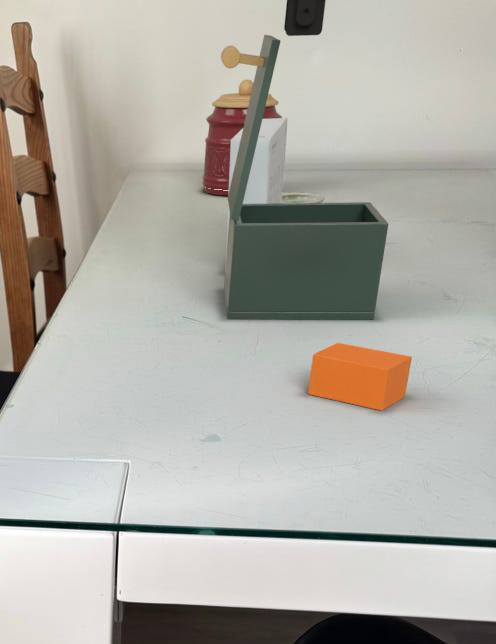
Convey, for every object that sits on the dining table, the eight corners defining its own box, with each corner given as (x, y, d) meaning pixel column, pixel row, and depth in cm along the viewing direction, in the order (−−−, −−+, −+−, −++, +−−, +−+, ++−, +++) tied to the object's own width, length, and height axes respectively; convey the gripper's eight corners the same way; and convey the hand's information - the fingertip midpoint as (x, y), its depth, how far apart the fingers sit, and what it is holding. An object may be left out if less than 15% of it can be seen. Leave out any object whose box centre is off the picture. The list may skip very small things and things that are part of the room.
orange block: (405, 397, 88) (412, 356, 86) (381, 411, 85) (388, 369, 83) (332, 381, 92) (337, 342, 90) (307, 394, 89) (312, 354, 87)
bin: (357, 290, 119) (370, 202, 113) (373, 319, 108) (388, 223, 103) (223, 290, 121) (230, 203, 116) (227, 319, 110) (234, 224, 105)
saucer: (269, 206, 167) (271, 191, 165) (328, 209, 163) (330, 193, 161) (253, 217, 159) (254, 200, 158) (314, 220, 156) (316, 203, 154)
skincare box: (241, 241, 145) (251, 117, 136) (279, 242, 143) (292, 117, 134) (219, 274, 128) (230, 136, 119) (263, 276, 126) (276, 136, 118)
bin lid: (271, 35, 106) (225, 28, 107) (280, 40, 96) (229, 32, 96) (234, 200, 115) (191, 193, 116) (238, 220, 105) (191, 213, 105)
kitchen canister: (287, 193, 176) (299, 79, 167) (218, 199, 174) (226, 83, 165) (256, 183, 187) (265, 75, 178) (191, 188, 185) (197, 79, 175)
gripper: (381, -220, 78) (348, 35, 87) (364, -188, 92) (337, 29, 102) (283, -213, 80) (260, 38, 89) (281, -182, 94) (261, 31, 103)
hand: (301, 33), depth 95 cm, fingers open, 9 cm apart
